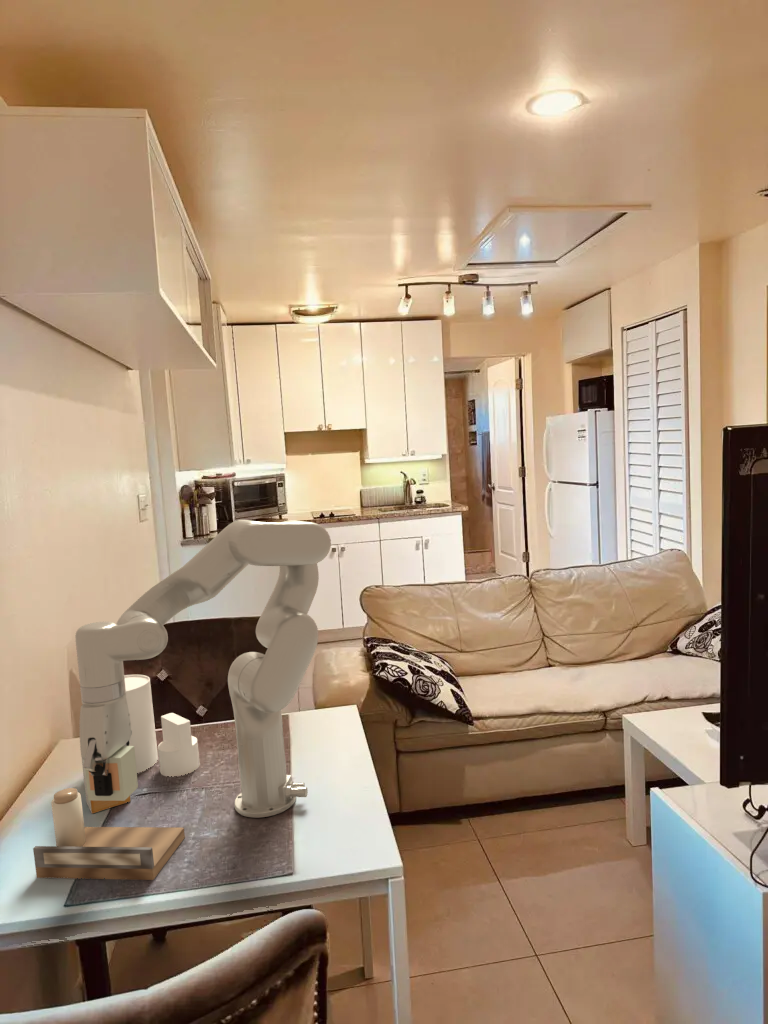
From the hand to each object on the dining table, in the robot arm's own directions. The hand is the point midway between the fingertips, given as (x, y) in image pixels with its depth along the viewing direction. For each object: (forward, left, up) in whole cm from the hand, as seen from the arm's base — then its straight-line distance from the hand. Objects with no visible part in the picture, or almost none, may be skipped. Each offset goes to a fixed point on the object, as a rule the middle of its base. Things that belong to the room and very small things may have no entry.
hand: (112, 786), depth 126 cm
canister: (+18, -37, -13) cm, 43 cm away
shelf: (+1, +1, -13) cm, 13 cm away
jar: (+9, 0, -11) cm, 15 cm away
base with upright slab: (+4, -35, -13) cm, 37 cm away
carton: (0, 0, -2) cm, 2 cm away
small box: (+13, -19, -13) cm, 26 cm away
